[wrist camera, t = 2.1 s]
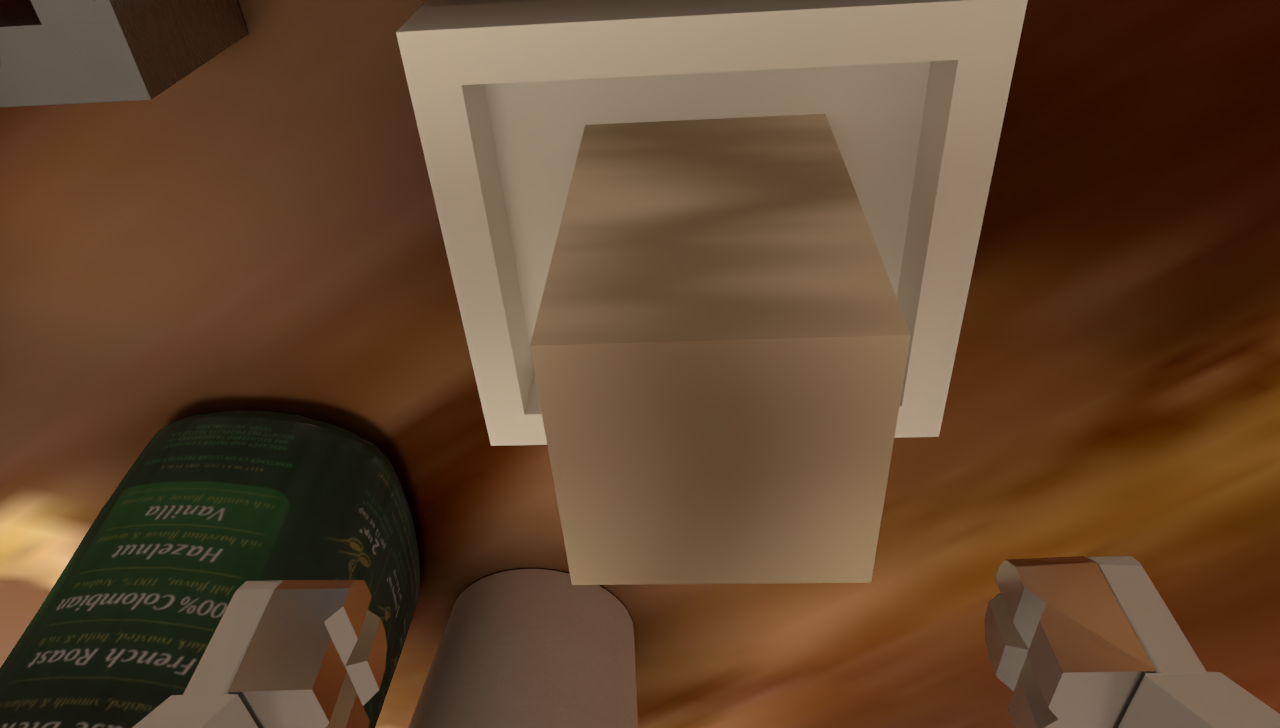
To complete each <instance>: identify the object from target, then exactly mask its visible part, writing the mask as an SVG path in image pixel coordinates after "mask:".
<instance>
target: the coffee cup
mask: <svg viewBox="0 0 1280 728" xmlns="http://www.w3.org/2000/svg"><path fill="white" fill-rule="evenodd" d="M408 728H638V714H637V690H636V667H635V643H634V627H633V622H632V619H631V617H630V615H629V613H628V611H627V610H626V608H625V607H624V606H623V604H622V603H621V602H620V601H619V600H618V599H617V598H616V597H615V596H614V595H612V594H611V593H610V592H608V591H607V590H606V589H604V588H602V587H601V586H599V585H572V583H571V578H570V574H568V573H564V572H559V571H553V570H545V569H517V570H510V571H504V572H500V573H496V574H493V575H490V576H487V577H485V578H482V579H480V580H478V581H477V582H475V583H473V584H472V585H470V586H469V587H468V588H466V589H465V590H464V591H463V592H462V593H461V594H460V596H459V597H458V598H457V600H456V602H455V604H454V606H453V608H452V611H451V614H450V616H449V619H448V622H447V624H446V627H445V630H444V633H443V635H442V638H441V641H440V643H439V646H438V649H437V651H436V654H435V657H434V660H433V662H432V665H431V668H430V670H429V673H428V676H427V679H426V681H425V684H424V687H423V689H422V692H421V695H420V698H419V700H418V703H417V706H416V708H415V711H414V714H413V717H412V719H411V722H410V725H409V727H408Z"/></svg>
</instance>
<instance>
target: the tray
mask: <svg viewBox="0 0 1280 728" xmlns="http://www.w3.org/2000/svg"><path fill="white" fill-rule="evenodd" d="M1027 2H1028V0H427V1H426V2H425V3H424V4H423V5H422V6H421V7H420V8H419V9H418V10H417V11H416V12H415V13H414V14H413V15H412V16H411V17H410V18H409V19H408V20H407V21H406V22H405V23H404V24H403V25H402V26H401V27H400V28H399V29H398V30H397V31H396V35H397V39H398V44H399V48H400V53H401V57H402V61H403V66H404V70H405V74H406V79H407V83H408V87H409V92H410V96H411V100H412V105H413V109H414V113H415V118H416V122H417V126H418V131H419V135H420V139H421V144H422V148H423V153H424V157H425V161H426V166H427V170H428V174H429V179H430V183H431V187H432V192H433V196H434V200H435V205H436V209H437V213H438V218H439V222H440V226H441V231H442V235H443V240H444V244H445V248H446V253H447V257H448V261H449V266H450V270H451V274H452V279H453V283H454V287H455V292H456V296H457V300H458V305H459V309H460V313H461V318H462V322H463V326H464V331H465V335H466V340H467V344H468V348H469V353H470V357H471V361H472V366H473V370H474V374H475V379H476V383H477V387H478V392H479V396H480V400H481V405H482V409H483V413H484V418H485V422H486V426H487V431H488V435H489V440H490V444H491V446H505V445H547V441H546V435H545V429H544V423H543V418H542V412H541V406H540V401H539V395H538V389H537V383H536V378H535V372H534V366H533V361H532V355H531V349H530V344H531V340H532V336H533V332H534V328H535V324H536V320H537V316H538V312H539V308H540V304H541V300H542V296H543V292H544V288H545V284H546V280H547V276H548V272H549V268H550V264H551V260H552V256H553V252H554V248H555V244H556V240H557V236H558V232H559V228H560V224H561V220H562V216H563V212H564V208H565V204H566V200H567V196H568V192H569V188H570V184H571V180H572V176H573V172H574V168H575V164H576V160H577V156H578V152H579V148H580V144H581V140H582V136H583V132H584V128H585V125H594V124H615V123H636V122H658V121H679V120H700V119H721V118H743V117H764V116H785V115H807V114H826V117H827V119H828V122H829V125H830V127H831V130H832V132H833V135H834V137H835V140H836V143H837V145H838V148H839V150H840V153H841V156H842V158H843V161H844V163H845V166H846V168H847V171H848V174H849V176H850V179H851V181H852V184H853V187H854V189H855V192H856V194H857V197H858V199H859V202H860V205H861V207H862V210H863V212H864V215H865V218H866V220H867V223H868V225H869V228H870V231H871V233H872V236H873V238H874V241H875V243H876V246H877V249H878V251H879V254H880V256H881V259H882V262H883V264H884V267H885V269H886V272H887V274H888V277H889V280H890V282H891V285H892V287H893V290H894V293H895V295H896V298H897V300H898V303H899V305H900V308H901V311H902V313H903V316H904V318H905V321H906V324H907V326H908V329H909V331H910V334H911V338H910V344H909V350H908V356H907V362H906V369H905V375H904V381H903V387H902V393H901V400H900V406H899V412H898V418H897V424H896V431H895V437H894V438H904V437H939V433H940V429H941V424H942V419H943V414H944V409H945V404H946V399H947V394H948V389H949V384H950V379H951V375H952V370H953V365H954V360H955V355H956V350H957V345H958V340H959V335H960V330H961V325H962V321H963V316H964V311H965V306H966V301H967V296H968V291H969V286H970V281H971V276H972V271H973V267H974V262H975V257H976V252H977V247H978V242H979V237H980V232H981V227H982V222H983V217H984V213H985V208H986V203H987V198H988V193H989V188H990V183H991V178H992V173H993V168H994V163H995V159H996V154H997V149H998V144H999V139H1000V134H1001V129H1002V124H1003V119H1004V114H1005V109H1006V105H1007V100H1008V95H1009V90H1010V85H1011V80H1012V75H1013V70H1014V65H1015V60H1016V56H1017V51H1018V46H1019V41H1020V36H1021V31H1022V26H1023V21H1024V16H1025V11H1026V6H1027Z"/></svg>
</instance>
